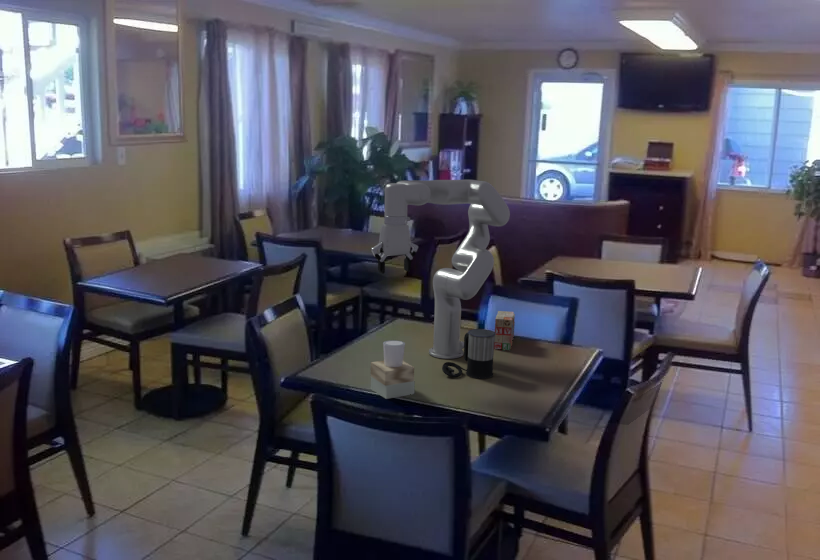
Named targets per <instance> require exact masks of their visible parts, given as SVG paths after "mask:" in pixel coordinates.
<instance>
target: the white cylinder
mask: <svg viewBox="0 0 820 560" xmlns="http://www.w3.org/2000/svg"><path fill="white" fill-rule="evenodd" d="M382 345H383V346H382V347H383V348H382V349H383V361H384V365H385V366H388V367H400V366H402V363H403V361H404V355H405V348H406V347H405V345H406V342H405V341H401V340H396V339H395V340H394V339H393V340H392V339H391V340H385V341H383V342H382Z"/></svg>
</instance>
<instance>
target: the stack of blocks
mask: <svg viewBox="0 0 820 560" xmlns="http://www.w3.org/2000/svg"><path fill="white" fill-rule="evenodd" d="M515 316H516V314H515V311H503V310H497V314H496V317H495V321H494V322H495V324H494V332H495V333H496V335H495V341H494V349H505V350H510V349H512V347H511V346H512V345H513V341H512V340H514V338H513V337H515V326H516V325H515V324H516V322H515V319H516V317H515ZM505 350H504V351H505ZM510 351H511V350H510Z"/></svg>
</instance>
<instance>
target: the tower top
mask: <svg viewBox="0 0 820 560" xmlns="http://www.w3.org/2000/svg"><path fill="white" fill-rule="evenodd" d="M371 377H373V378H374V379H376V380H377V381H379V382H380V383H382V384H383V385H385V386H386V385H393V384H399V383H406V382H412V381H415V366H413V365H411V364H409V363H408V362H406V361H405V360H403V363H402V366H400V367H388V366H385V365H384V360H378V361H372V362H371V361H370V378H371Z"/></svg>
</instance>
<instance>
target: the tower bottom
mask: <svg viewBox="0 0 820 560" xmlns="http://www.w3.org/2000/svg"><path fill="white" fill-rule="evenodd" d="M415 383H416V381H415V380H414V381H412V382H406V383H399V384H393V385H386V386H385V385H383V384H382V383H380V382H379V381H377V380H376V379H374V378H373V377H371V376H370V390H371V391H372V392H374V393H377V394H378V395H379V396H381V397H382V398H384V399H386V400H388V399H394V398H399V397H403V396H404V397H405V396H411V395H415ZM410 394H411V395H410Z"/></svg>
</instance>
